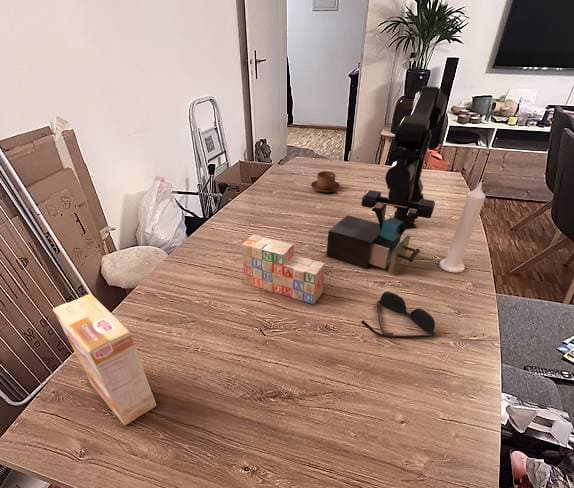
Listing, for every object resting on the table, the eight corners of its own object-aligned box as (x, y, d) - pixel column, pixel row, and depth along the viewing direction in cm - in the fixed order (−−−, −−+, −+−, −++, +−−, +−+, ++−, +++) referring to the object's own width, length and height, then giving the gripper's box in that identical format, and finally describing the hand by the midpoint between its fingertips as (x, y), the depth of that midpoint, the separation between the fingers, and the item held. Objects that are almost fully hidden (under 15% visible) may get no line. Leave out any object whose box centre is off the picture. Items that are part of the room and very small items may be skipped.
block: (380, 236, 107) (382, 222, 105) (388, 231, 110) (391, 217, 107) (393, 241, 105) (396, 226, 102) (401, 236, 108) (404, 221, 105)
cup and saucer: (307, 185, 160) (307, 170, 156) (333, 183, 163) (334, 168, 159) (317, 196, 151) (317, 180, 147) (344, 193, 154) (345, 177, 150)
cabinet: (382, 251, 119) (387, 225, 113) (366, 269, 111) (371, 242, 105) (344, 239, 124) (347, 215, 119) (326, 256, 116) (328, 230, 111)
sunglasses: (344, 323, 92) (346, 307, 89) (381, 301, 99) (385, 285, 96) (399, 361, 83) (404, 345, 79) (436, 334, 90) (442, 318, 86)
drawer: (419, 260, 113) (425, 239, 109) (406, 277, 106) (412, 256, 102) (367, 245, 120) (371, 225, 115) (352, 260, 113) (355, 240, 108)
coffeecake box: (89, 383, 77) (50, 308, 64) (122, 365, 81) (91, 291, 68) (123, 427, 69) (87, 352, 56) (158, 405, 73) (131, 330, 60)
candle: (465, 274, 109) (498, 188, 93) (440, 271, 110) (468, 185, 94) (462, 261, 115) (492, 178, 98) (438, 259, 116) (464, 176, 99)
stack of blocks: (322, 293, 102) (326, 252, 93) (313, 305, 98) (316, 264, 89) (255, 272, 109) (253, 233, 101) (243, 283, 105) (240, 243, 97)
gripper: (444, 172, 99) (429, 227, 110) (375, 162, 105) (367, 215, 115) (439, 186, 92) (423, 244, 102) (364, 175, 97) (356, 231, 108)
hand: (391, 232), depth 107 cm, fingers closed on block, 5 cm apart
